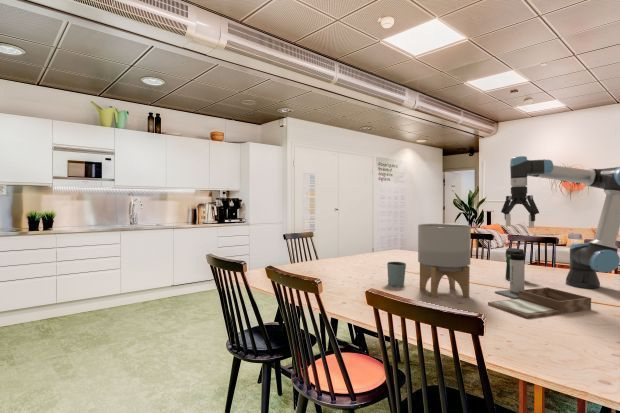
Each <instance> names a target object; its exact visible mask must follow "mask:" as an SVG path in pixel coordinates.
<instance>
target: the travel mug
mask: <svg viewBox="0 0 620 413" xmlns="http://www.w3.org/2000/svg"><path fill="white" fill-rule="evenodd" d="M510 257H511V258H510V280H509V290H510V293H513V294H519V290H525V277H526V276H525V272H526V271H525V265H526V264H525V253H524V254H523V253H518V252H513V253H510Z"/></svg>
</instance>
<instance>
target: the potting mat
mask: <svg viewBox="0 0 620 413" xmlns="http://www.w3.org/2000/svg"><path fill="white" fill-rule="evenodd" d="M494 294H497V295H500V296H504V297H506V298H510V299H519V294H513V293H510V289H504V290H496V291H494Z"/></svg>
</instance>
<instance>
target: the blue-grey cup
mask: <svg viewBox="0 0 620 413" xmlns="http://www.w3.org/2000/svg"><path fill="white" fill-rule="evenodd" d="M386 265H387V285H388V286H391V287H404V286H405V278H406V277H405V276H406V267H407V263H405V262H401V261H387V263H386Z"/></svg>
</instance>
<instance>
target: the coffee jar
mask: <svg viewBox="0 0 620 413" xmlns="http://www.w3.org/2000/svg"><path fill="white" fill-rule="evenodd" d="M513 252H518V253H523V254H524V255H525V251H524V249H523V248H516V247H509V248H508V247H507V248H506V250H505V254H504V255H505V258H506V266H505V267H506V268H505V276H504V277H505V279H506V280H507V281H510V258H511V257H510V253H513Z"/></svg>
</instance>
